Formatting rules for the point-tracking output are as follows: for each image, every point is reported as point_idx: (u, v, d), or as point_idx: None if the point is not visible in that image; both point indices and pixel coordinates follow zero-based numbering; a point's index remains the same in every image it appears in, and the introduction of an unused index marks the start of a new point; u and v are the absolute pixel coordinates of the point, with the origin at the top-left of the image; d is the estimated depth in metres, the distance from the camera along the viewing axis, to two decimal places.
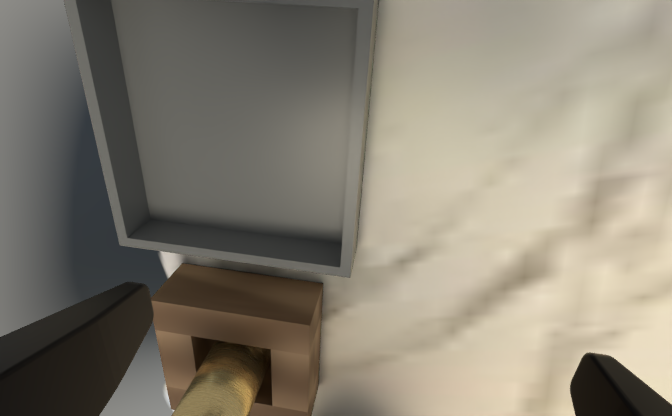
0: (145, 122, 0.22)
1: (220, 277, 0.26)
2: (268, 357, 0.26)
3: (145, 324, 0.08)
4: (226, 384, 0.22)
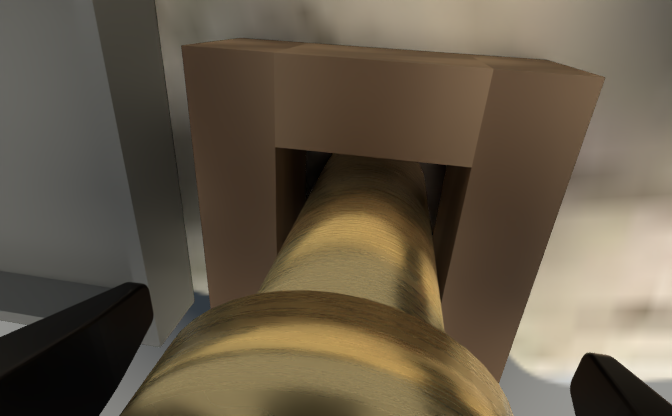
0: (47, 265, 0.19)
1: None
2: (360, 162, 0.12)
3: (145, 324, 0.08)
4: None
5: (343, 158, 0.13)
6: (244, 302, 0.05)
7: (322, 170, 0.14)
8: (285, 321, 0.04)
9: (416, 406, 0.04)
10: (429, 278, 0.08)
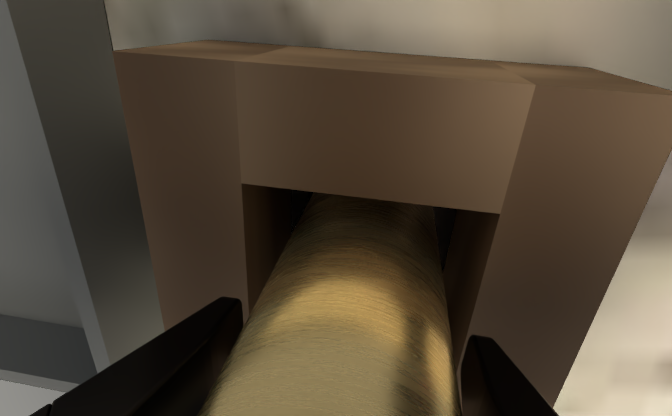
0: None
1: None
2: (353, 198, 0.09)
3: None
4: None
5: None
6: None
7: (309, 200, 0.12)
8: None
9: None
10: (448, 395, 0.05)
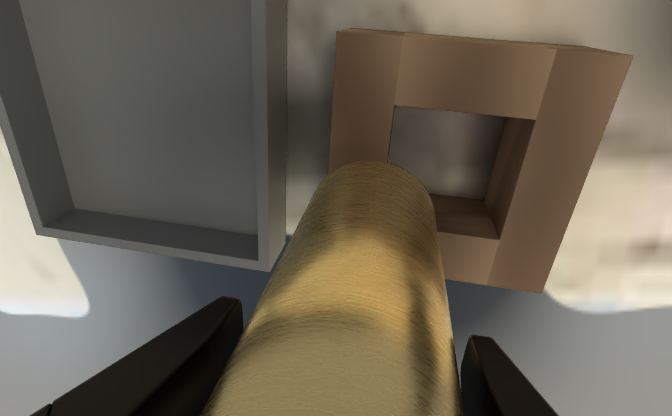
0: (168, 211, 0.23)
1: None
2: (354, 198, 0.09)
3: (238, 340, 0.08)
4: (238, 341, 0.07)
5: (334, 190, 0.10)
6: None
7: None
8: None
9: None
10: (450, 396, 0.05)
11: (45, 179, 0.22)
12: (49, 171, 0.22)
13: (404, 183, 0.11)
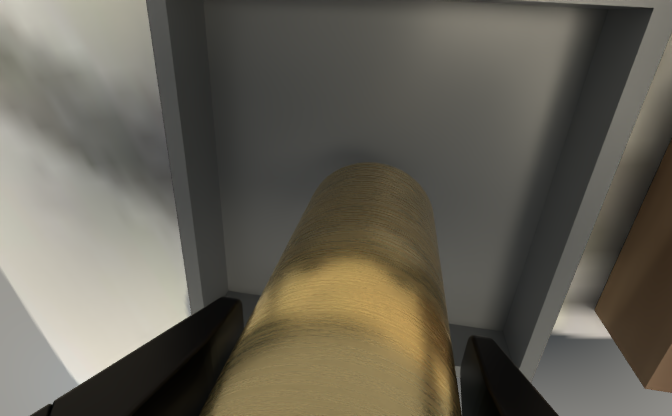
0: None
1: (634, 260, 0.15)
2: (353, 200, 0.09)
3: None
4: (235, 344, 0.07)
5: (333, 192, 0.10)
6: None
7: (309, 202, 0.12)
8: None
9: None
10: (448, 400, 0.05)
11: (211, 263, 0.17)
12: (214, 251, 0.17)
13: (403, 185, 0.11)
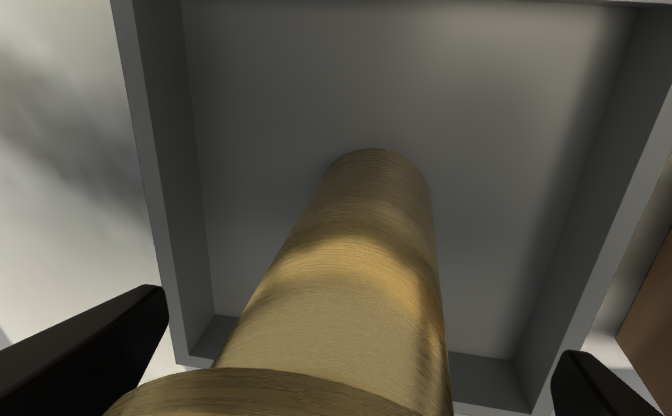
0: None
1: (663, 288, 0.13)
2: (357, 177, 0.10)
3: (161, 327, 0.08)
4: (256, 289, 0.08)
5: (340, 172, 0.11)
6: (181, 381, 0.04)
7: (318, 184, 0.13)
8: None
9: None
10: (433, 324, 0.07)
11: (194, 287, 0.15)
12: (198, 274, 0.15)
13: (403, 167, 0.12)
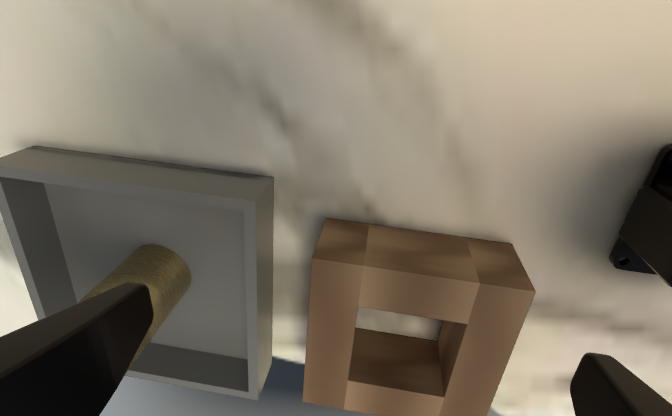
0: (169, 337, 0.27)
1: None
2: (122, 271, 0.21)
3: (145, 324, 0.08)
4: None
5: (121, 264, 0.22)
6: None
7: None
8: None
9: None
10: None
11: None
12: None
13: (160, 259, 0.22)
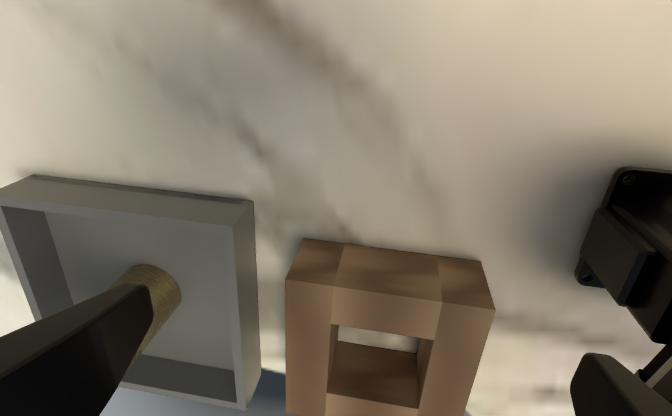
0: (164, 350, 0.28)
1: None
2: None
3: (145, 324, 0.08)
4: None
5: (114, 283, 0.23)
6: None
7: None
8: None
9: None
10: None
11: None
12: None
13: (150, 279, 0.24)
